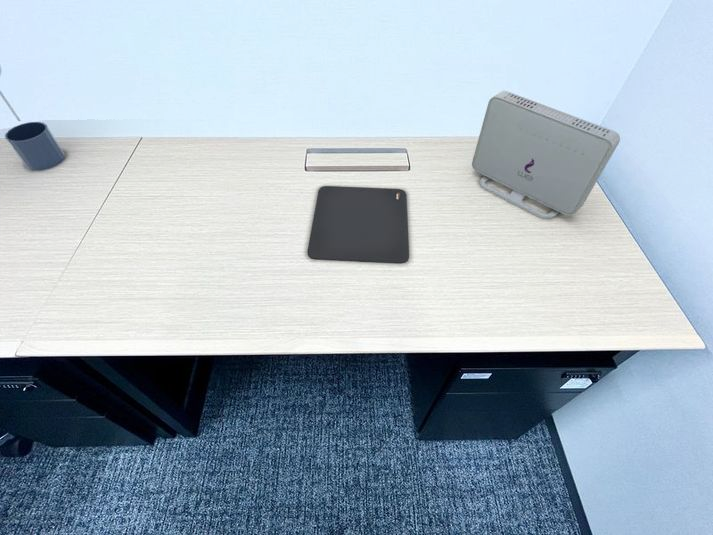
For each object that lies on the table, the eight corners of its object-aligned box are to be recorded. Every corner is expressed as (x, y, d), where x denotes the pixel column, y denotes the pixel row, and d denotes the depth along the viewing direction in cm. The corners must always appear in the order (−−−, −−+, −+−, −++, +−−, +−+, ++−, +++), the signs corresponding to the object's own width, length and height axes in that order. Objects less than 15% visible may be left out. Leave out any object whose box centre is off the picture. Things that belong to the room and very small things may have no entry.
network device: (463, 178, 96) (484, 98, 81) (482, 163, 100) (506, 84, 85) (564, 230, 85) (611, 147, 70) (581, 210, 89) (629, 128, 74)
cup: (27, 174, 95) (5, 145, 89) (26, 156, 100) (5, 127, 94) (66, 164, 98) (48, 135, 92) (63, 147, 103) (45, 118, 97)
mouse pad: (409, 263, 78) (409, 262, 78) (306, 259, 79) (306, 258, 78) (405, 190, 93) (406, 189, 93) (319, 186, 93) (319, 185, 93)
